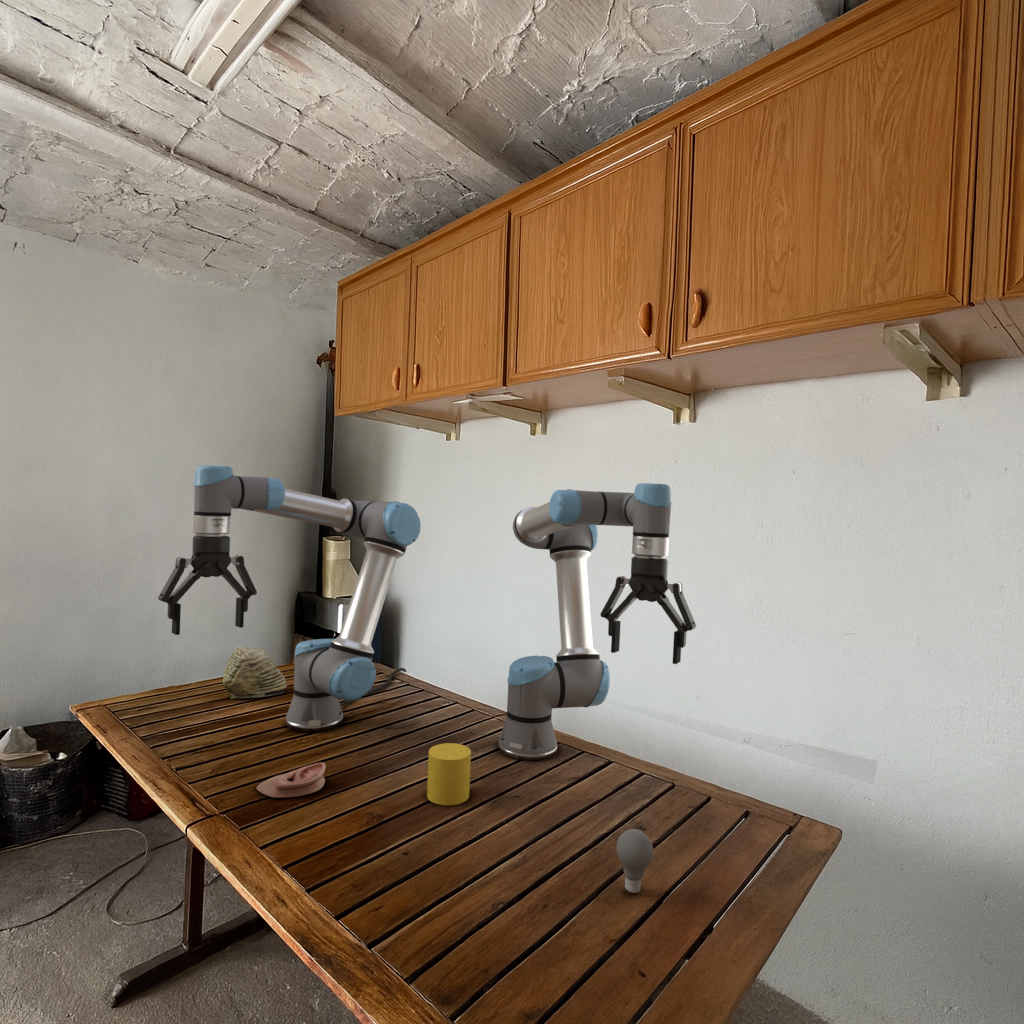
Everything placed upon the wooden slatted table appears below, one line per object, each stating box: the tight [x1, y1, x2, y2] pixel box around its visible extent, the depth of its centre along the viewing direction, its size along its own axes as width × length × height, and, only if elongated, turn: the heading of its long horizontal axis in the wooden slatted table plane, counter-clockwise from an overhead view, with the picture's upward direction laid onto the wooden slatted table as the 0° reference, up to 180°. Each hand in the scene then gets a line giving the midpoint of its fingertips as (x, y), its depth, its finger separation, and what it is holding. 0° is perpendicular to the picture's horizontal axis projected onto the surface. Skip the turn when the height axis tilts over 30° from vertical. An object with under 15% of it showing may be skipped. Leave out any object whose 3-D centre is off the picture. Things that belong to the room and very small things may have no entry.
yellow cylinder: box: [426, 742, 472, 806], centre depth 137 cm, size 9×9×10 cm
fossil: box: [222, 646, 288, 699], centre depth 198 cm, size 9×18×15 cm, turn 132°
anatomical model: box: [256, 762, 327, 799], centre depth 137 cm, size 13×4×12 cm
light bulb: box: [615, 828, 654, 894], centre depth 106 cm, size 6×6×10 cm
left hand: (208, 630), depth 141 cm, fingers open, 13 cm apart
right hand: (644, 657), depth 134 cm, fingers open, 13 cm apart
